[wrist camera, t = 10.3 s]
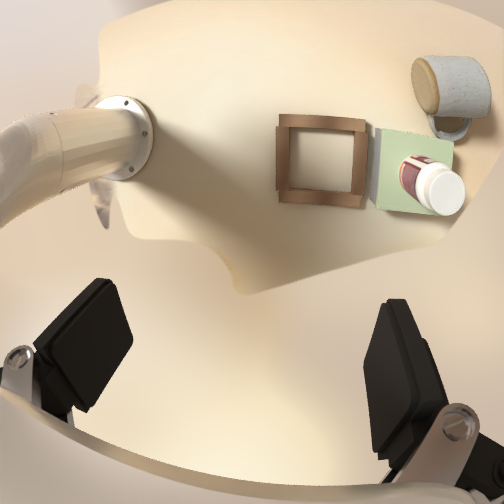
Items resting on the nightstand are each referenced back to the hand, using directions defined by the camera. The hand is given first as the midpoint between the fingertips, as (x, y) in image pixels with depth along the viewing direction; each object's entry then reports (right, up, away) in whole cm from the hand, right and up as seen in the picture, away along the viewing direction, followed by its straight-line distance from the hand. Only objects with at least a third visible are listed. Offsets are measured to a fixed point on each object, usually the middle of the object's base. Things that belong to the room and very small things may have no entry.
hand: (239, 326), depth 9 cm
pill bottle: (+19, +11, +18) cm, 28 cm away
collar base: (+9, +14, +23) cm, 28 cm away
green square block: (+20, +13, +21) cm, 31 cm away
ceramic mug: (+24, +22, +16) cm, 36 cm away
